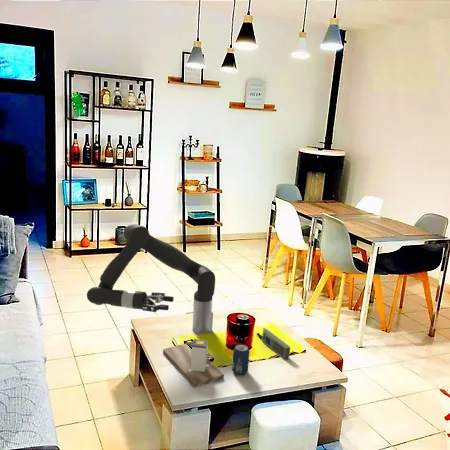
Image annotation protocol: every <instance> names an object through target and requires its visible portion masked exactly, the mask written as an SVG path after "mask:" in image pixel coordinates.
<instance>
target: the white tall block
mask: <svg viewBox="0 0 450 450" xmlns="http://www.w3.org/2000/svg"><path fill="white" fill-rule="evenodd" d="M208 343H209V342H208V340H205V339H199V338H194V339H193V340H192V343H191V344H192V351H191V370H193V371H201V372H205V369H206V366H207V359H208Z"/></svg>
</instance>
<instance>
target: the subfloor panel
mask: <svg viewBox="0 0 450 450" xmlns="http://www.w3.org/2000/svg"><path fill="white" fill-rule="evenodd" d="M187 343H188V342H187ZM187 343H186V342H185V343H183V344H177V345H175V346H172V347H171V346H170V347H166V348H163V349H162V354H163V355H164V356H165V358H167V359H168V360H169V361H170V362H171V364H172V365H173V366H174V367H175V368H176V369H177V370H178V372H180V373H181V375H183V377H184V378H185V379H186V381H188V382H189V383H190V385H191V386H192V387H193V388H198V387H200V386H203V385H204V386H205V385H207V384H210V383H213V382H217V381H220V380H223V379H224V376H225V374H224V373H223V372H222V371H221V370H220V369H219V368H217V366H216V365H214V363H212V362H211V361H210V360H209V359H208V358H207V366H206V369H205V372H201V371H193V370H191V351H192V349H191V348H190V347H189V346H188V345H187Z"/></svg>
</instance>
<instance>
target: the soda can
mask: <svg viewBox="0 0 450 450" xmlns="http://www.w3.org/2000/svg"><path fill="white" fill-rule="evenodd" d="M232 351H233V352H232V364H231V371H232V372H233V374H234V375H235V376H238V377H241V376H245V375H246V374H247V373H248V371H249V364H250V363H249V361H250V349H249V347H248V345H246V344H243V343H238V344H236V345H235V346H234V348H233V350H232Z"/></svg>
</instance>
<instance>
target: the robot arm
mask: <svg viewBox="0 0 450 450" xmlns="http://www.w3.org/2000/svg"><path fill="white" fill-rule="evenodd" d="M123 230H124V231H123V237H124V240H126V244H125V245H124V247H123V249H122V250H121V251H120V252H119V253H118V254H117V255H116V256H115V257H114V258H113V259H112V260H111V261H110V262H109V263H108V264H107V266H106V268H105V269H104V271H103V272H102V274H101V275H100V278H99V280H100V282H99V284H98V286H93V287H91V288H89V290H87V293H86V299H87V300H88V301H89V303H91V304H94V305H96V306H102V305H110V306H111V307H112V306H113V307H122V308H125V309H126V308H127V309H131V310H132V309H133V310H134V309H135V310H142V311H144V312H151V313H157V312H158V311H160V310H161V311H168V310H170V308H169V305H168V304H163V303H161V302H166V303H167V302H170V303H174V300H175V298H174V296H169V295H166V293H165V292H154V291H153V292H151V294H150V295H148V294H147V292H146V291H140V290H139V291H137V290H123V289H122V290H121V289H114V286H115V285H116V283H117V281H118V279H120V277H121V276H122V274H123V272H124V270H126V268H127V266H128V265H129V264H130V262H131V261H132V260H133V259H134V257H135V256H136V255H137V254H138V252H139V251H140V250H144V251H145V252H147V253H148V254H149V255H151V256H153V257H154V258H155V259H157V261H160V263H162V264H163V265H166V266H167V267H168V268H170V269H174V271H175V270H176V271H179V272H181V273H184V274H185V275H187V276H188V277H189V278H190V279H192V280H193V281H194V283H196V285H197V289H196V291H195V292H194V294H193V311H192V332H194V333H196V334H198V335H199V334H200V335H205V334H208V333H210V332H211V331H213V323H214V312H212V311H213V310H212V309H213V307H212V306H213V297H214V294H215V289H216V288H215V287H216V275H215V273H214V272H213V271H212V270H211V269H209V268H208V267H207V266H205V265H202V264H200V263H198V262H196V261H194V260H192V259H191V258H190V257H188V256H187V254H185V253H184V252H183V251H181V250H180V249H178V248H177V247H175V246H174V245H172V244H170V243H168V242H165V241H163V240H160V239H158V238H156V237H154V236H153V235H151V234H150V231H149V230H148V228H147V227H146V226H144V225H140V224H137V223H134V224H133V223H132V224H129V225H128V226H126V227H125V228H124V229H123Z"/></svg>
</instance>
